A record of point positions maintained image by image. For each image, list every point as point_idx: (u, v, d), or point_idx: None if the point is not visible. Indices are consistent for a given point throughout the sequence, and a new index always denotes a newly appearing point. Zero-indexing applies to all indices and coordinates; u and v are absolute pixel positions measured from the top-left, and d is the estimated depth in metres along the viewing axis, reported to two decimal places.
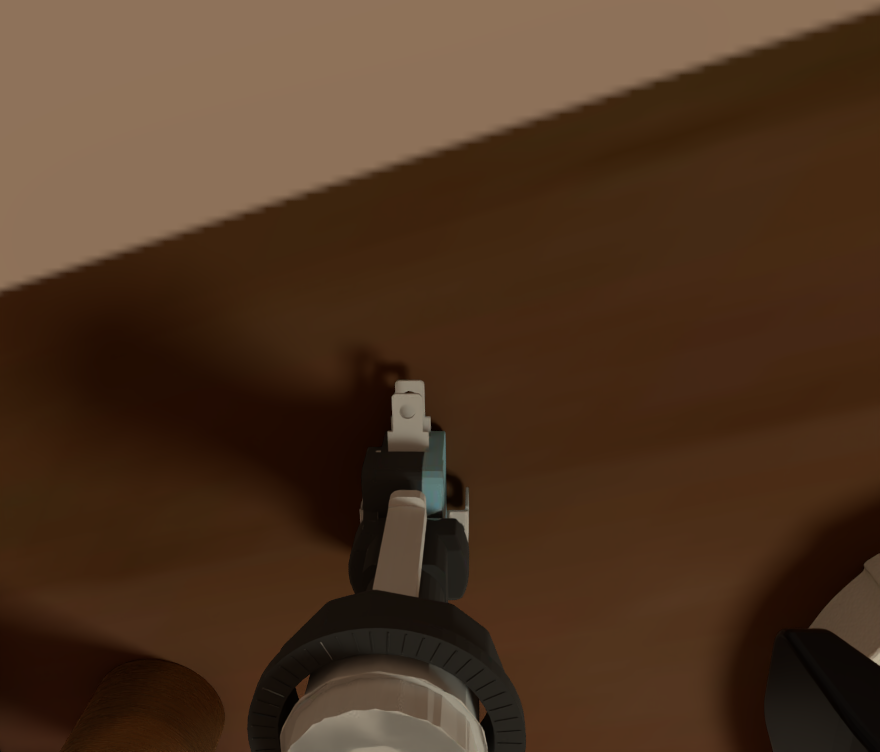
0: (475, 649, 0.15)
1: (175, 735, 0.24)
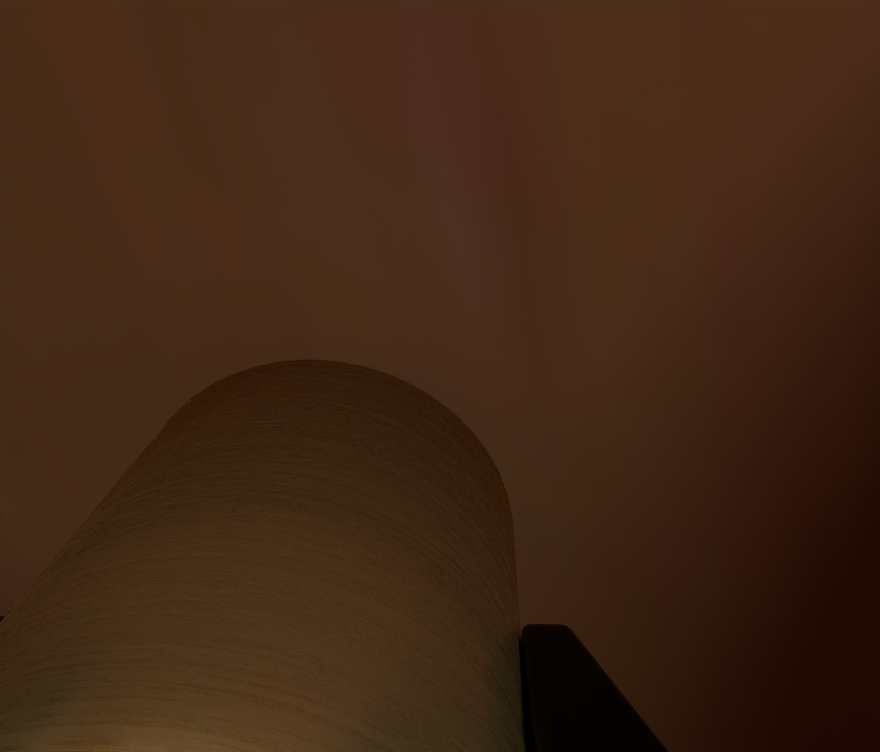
0: None
1: (72, 536, 0.07)
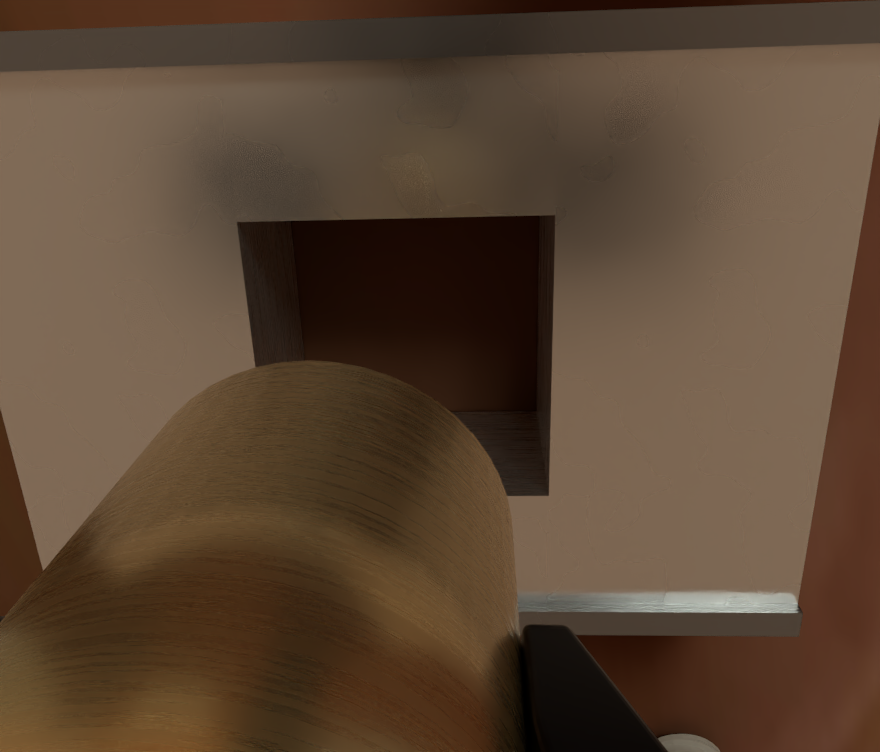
0: None
1: (72, 538, 0.07)
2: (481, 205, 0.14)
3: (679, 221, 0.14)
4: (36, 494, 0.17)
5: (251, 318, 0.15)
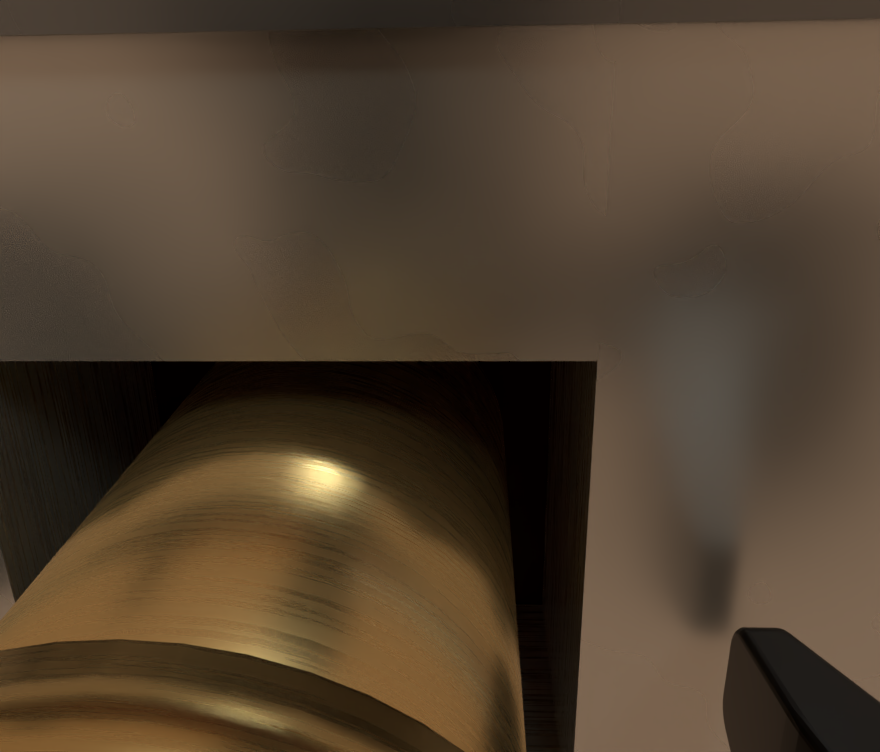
0: None
1: (175, 411, 0.09)
2: (446, 339, 0.07)
3: (852, 378, 0.07)
4: None
5: (9, 531, 0.08)
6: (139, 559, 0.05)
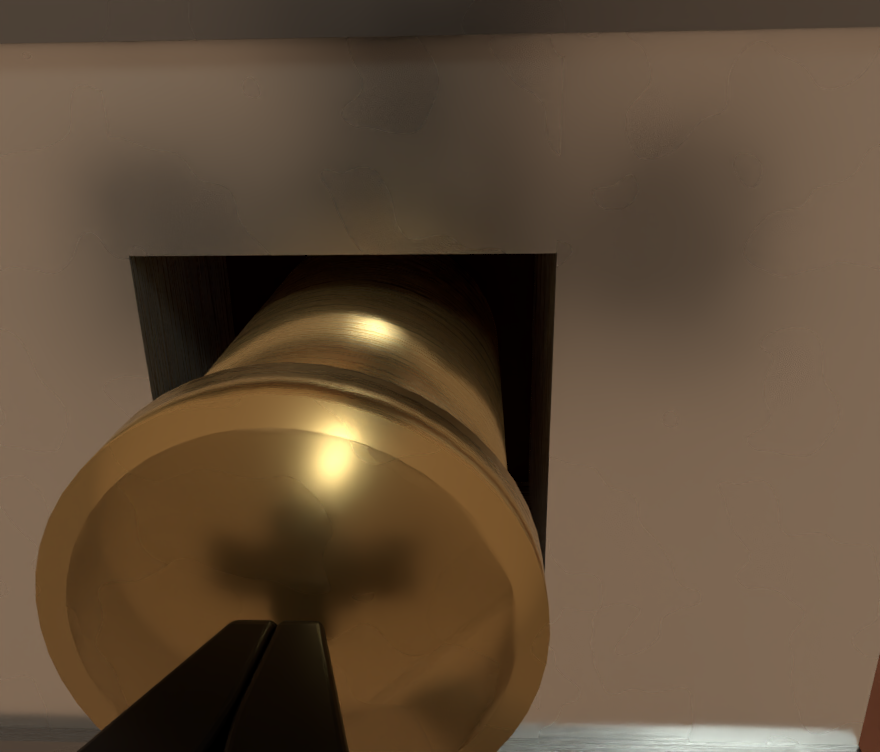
0: None
1: (262, 306, 0.12)
2: (457, 239, 0.10)
3: (723, 264, 0.10)
4: None
5: (154, 382, 0.11)
6: (274, 353, 0.09)
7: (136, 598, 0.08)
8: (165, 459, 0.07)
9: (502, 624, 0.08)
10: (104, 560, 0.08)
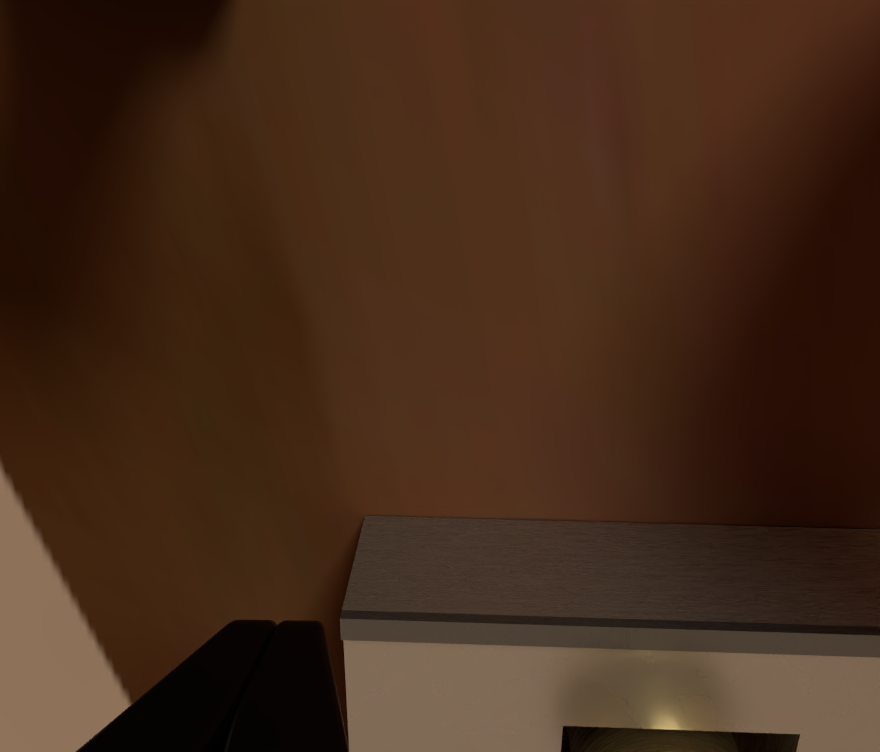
0: None
1: None
2: (746, 725, 0.19)
3: None
4: None
5: None
6: None
7: None
8: None
9: None
10: None
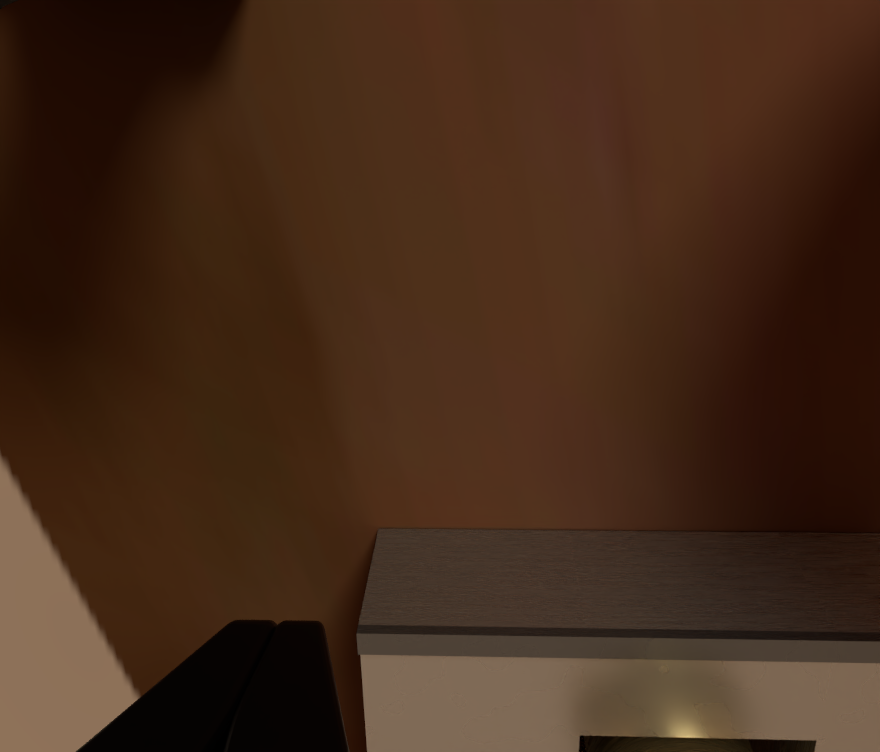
0: None
1: None
2: (763, 732, 0.19)
3: None
4: None
5: None
6: None
7: None
8: None
9: None
10: None
